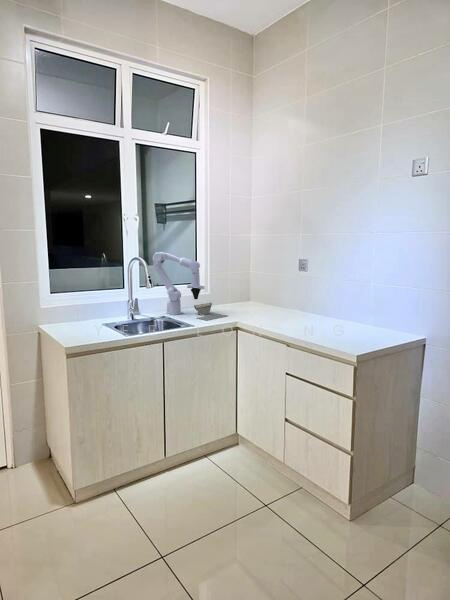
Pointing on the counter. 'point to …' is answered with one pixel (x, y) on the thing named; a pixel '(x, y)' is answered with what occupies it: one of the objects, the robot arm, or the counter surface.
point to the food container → (203, 308)
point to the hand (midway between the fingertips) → (196, 299)
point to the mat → (212, 317)
